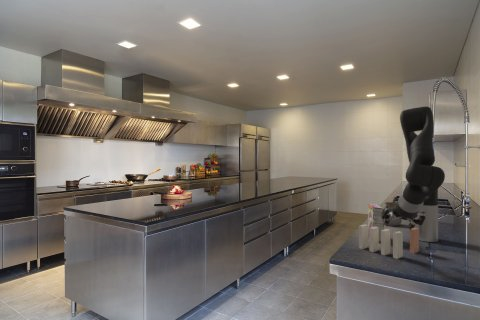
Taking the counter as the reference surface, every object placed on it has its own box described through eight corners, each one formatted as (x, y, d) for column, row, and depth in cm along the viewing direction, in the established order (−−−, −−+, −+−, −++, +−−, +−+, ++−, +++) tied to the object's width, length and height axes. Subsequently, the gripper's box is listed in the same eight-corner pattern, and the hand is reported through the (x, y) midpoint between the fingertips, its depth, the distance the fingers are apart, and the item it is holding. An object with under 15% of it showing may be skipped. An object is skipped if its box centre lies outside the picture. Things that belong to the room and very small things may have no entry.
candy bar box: (367, 235, 149) (367, 203, 149) (377, 236, 148) (377, 204, 148) (372, 242, 138) (372, 207, 138) (384, 242, 137) (384, 207, 137)
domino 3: (386, 252, 123) (386, 228, 123) (390, 253, 122) (390, 229, 121) (380, 254, 120) (380, 230, 120) (384, 255, 119) (384, 231, 119)
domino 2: (375, 249, 127) (375, 226, 127) (378, 250, 126) (378, 227, 126) (369, 251, 124) (369, 228, 124) (373, 252, 123) (373, 228, 123)
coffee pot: (400, 228, 164) (400, 201, 164) (378, 225, 171) (378, 199, 171) (406, 221, 181) (405, 197, 181) (385, 218, 188) (385, 195, 188)
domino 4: (398, 255, 119) (398, 231, 119) (402, 256, 118) (402, 232, 117) (393, 257, 116) (393, 232, 116) (397, 258, 115) (397, 233, 115)
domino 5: (414, 250, 125) (414, 227, 125) (418, 251, 124) (418, 228, 124) (409, 252, 122) (409, 228, 122) (414, 253, 121) (414, 229, 121)
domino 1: (364, 246, 131) (364, 224, 131) (367, 247, 130) (367, 225, 130) (358, 248, 129) (358, 225, 128) (362, 249, 127) (362, 226, 127)
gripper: (430, 198, 106) (416, 220, 118) (388, 191, 110) (378, 214, 123) (433, 215, 102) (418, 236, 114) (388, 208, 106) (379, 229, 118)
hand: (398, 225), depth 118 cm, fingers open, 8 cm apart
